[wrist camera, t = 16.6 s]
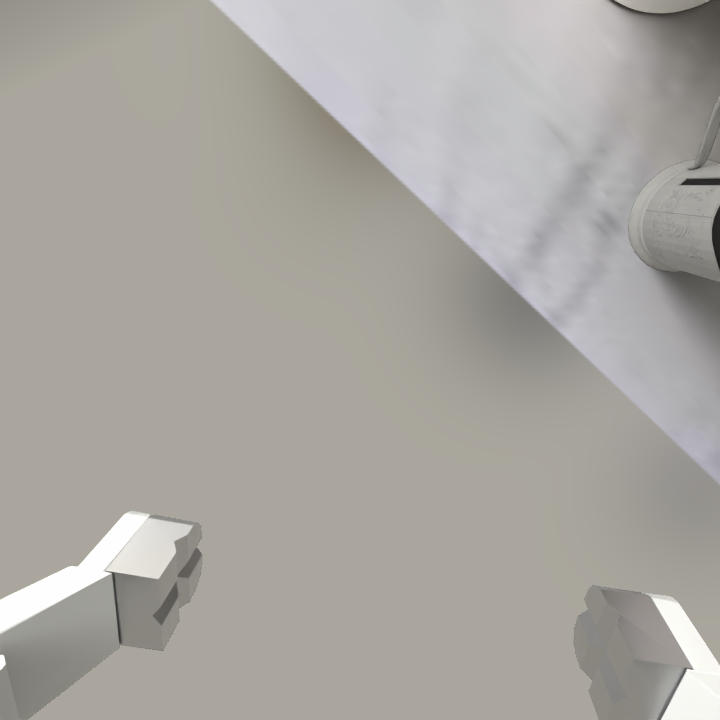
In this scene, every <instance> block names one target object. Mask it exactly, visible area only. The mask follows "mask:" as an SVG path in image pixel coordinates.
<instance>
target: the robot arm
mask: <svg viewBox="0 0 720 720" xmlns="http://www.w3.org/2000/svg"><path fill="white" fill-rule="evenodd" d="M615 1H616V2H618V3H620V4H622V5H624V6H626V7H629V8H631V9H634V10H638V11H642V12H648V13H672V12H678V11H683V10H687V9H690V8H693V7H696V6H699V5H701V4H704V3H706V2H708V1H710V0H615ZM201 538H202V531H201V525H200V524H199V523H197V522H191V521H187V520H181V519H176V518H171V517H165V516H159V515H151V514H146V513H140V512H135V511H130V512H128V513H126V514H124V515H123V516H122V518H121V519H120V520H119V521H118V522H117V523H116V524H115V525H114V527H113V528H112V529H111V530H110V531H109V532H108V533H107V534H106V536H105V537H104V538H103V539H102V540H101V541H100V542H99V544H98V545H97V546H96V547H95V548H94V549H93V550H92V551H91V553H90V554H89V555H88V556H87V557H86V558H85V559H84V560H83V562H82V563H81V564H80V565H79V566H78V567H73V566H70V567H68V568H65V569H63V570H61V571H59V572H57V573H55V574H53V575H51V576H49V577H47V578H45V579H42V580H40V581H38V582H36V583H35V584H32V585H30V586H28V587H26V588H24V589H22V590H20V591H18V592H16V593H13V594H11V595H9V596H7V597H5V598H3V599H1V600H0V720H28V719H29V718H30V717H32V716H33V715H34V714H35V713H37V712H38V711H39V710H41V709H42V708H43V707H44V706H46V705H47V704H48V703H49V702H51V701H52V700H53V699H55V698H56V697H57V696H59V695H60V694H61V693H62V692H64V691H65V690H66V689H68V688H69V687H70V686H71V685H73V684H74V683H75V682H76V681H78V680H79V679H80V678H82V677H83V676H84V675H85V674H87V673H88V672H89V671H91V670H92V669H93V668H94V667H96V666H97V665H98V664H100V663H101V662H102V661H103V660H105V659H106V658H107V657H109V655H111V654H112V653H114V652H115V651H116V650H118V649H119V648H120V645H124V646H131V647H138V648H145V649H152V650H159V651H163V650H164V648H165V647H166V645H167V643H168V641H169V639H170V637H171V635H172V634H173V632H174V630H175V628H176V626H177V624H178V622H179V608H181V607H182V606H184V605H185V604H187V603H188V602H190V600H191V598H192V596H193V594H194V592H195V590H196V587H197V584H198V581H199V578H200V575H201V569H202V554H201V552H200V551H199V550H198V548H197V545H198V543H199V542H200V540H201ZM584 600H585V602H586V605H587V607H588V610H586V611H585V612H583V613H582V614H580V615H579V616H578V618H577V621H576V624H575V627H574V647H575V652H576V657H577V659H578V663H579V665H580V668H581V669H582V670H583V671H584V672H585V673H586V674H587V675H588V676H589V677H590V679H591V680H592V684H591V686H590V689H589V693H590V696H591V699H592V702H593V704H594V707H595V710H596V713H597V715H598V718H599V720H720V665H719V664H718V662H717V661H716V660H715V658H714V656H713V655H712V653H711V652H710V650H709V649H708V647H707V646H706V644H705V643H704V641H703V640H702V638H701V636H700V635H699V634H698V632H697V631H696V629H695V627H694V626H693V624H692V623H691V621H690V620H689V618H688V617H687V615H686V614H685V612H684V611H683V609H682V608H681V606H680V605H679V603H678V602H677V601H676V600H675V599H673V598H672V597H670V596H663V595H656V594H649V593H641V592H634V591H627V590H621V589H613V588H606V587H601V586H594V585H593V586H592V587H591V588H590V589H589V590H588V591H587V594H586V596H585V599H584Z"/></svg>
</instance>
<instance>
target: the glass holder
mask: <svg viewBox="0 0 720 720" xmlns="http://www.w3.org/2000/svg"><path fill="white" fill-rule="evenodd" d="M719 126H720V96H719V97H718V100H717V102H716V104H715V107H714V109H713V112H712V115H711V118H710V120H709V123H708V125H707V128H706V131H705V134H704V138H703V141H702V144H701V147H700V150H699V153H698V155H697V158H696V160H688V161H685V162H681V163H678V164H675V165H673V166H671V167H669V168H667V169H665V170H664V171H662V172H660V173H659V174H657V175H656V176H655V177H654V178H653V179H652V180H650V181H649V182H648V184H647V185H646V186H645V187H644V188H643V189H642V191H641V192H640V194H639V195H638V197H637V198H636V200H635V203H634V205H633V207H632V210H631V213H630V217H629V225H628V231H629V239H630V242H631V245H632V247H633V249H634V251H635V253H636V254H637V255H638V257H639V258H640V259H641V260H642V261H644V262H645V263H646V264H647V265H649V266H651V267H653V268H655V269H659V270H663V271H671V272H678V271H684V272H688V273H691V274H694V275H697V276H700V277H704V278H707V279H710V280H713V281H716V282H719V283H720V163H718V162H714V161H711V160H707V158H708V156H709V154H710V151H711V149H712V146H713V143H714V140H715V137H716V134H717V131H718V128H719Z"/></svg>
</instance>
